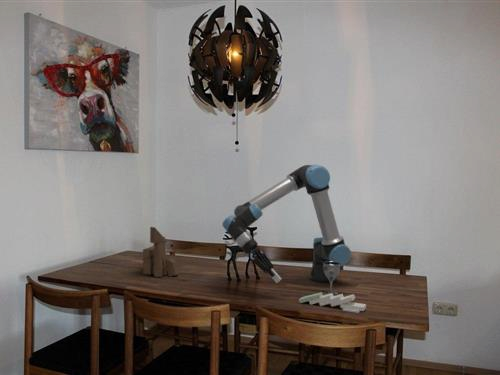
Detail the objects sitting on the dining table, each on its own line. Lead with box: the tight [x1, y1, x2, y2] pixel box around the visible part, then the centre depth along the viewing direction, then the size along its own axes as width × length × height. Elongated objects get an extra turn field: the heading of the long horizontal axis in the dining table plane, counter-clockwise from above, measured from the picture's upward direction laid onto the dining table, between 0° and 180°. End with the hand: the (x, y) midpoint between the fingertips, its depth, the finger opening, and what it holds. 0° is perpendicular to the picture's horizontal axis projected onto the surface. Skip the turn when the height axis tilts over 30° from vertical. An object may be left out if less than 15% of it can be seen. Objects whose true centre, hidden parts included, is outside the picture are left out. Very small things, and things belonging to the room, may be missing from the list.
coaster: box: [342, 308, 361, 314], centre depth 199 cm, size 8×7×1 cm
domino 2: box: [308, 293, 335, 305], centre depth 205 cm, size 2×5×10 cm
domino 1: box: [298, 291, 324, 304], centre depth 207 cm, size 2×5×10 cm
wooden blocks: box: [142, 226, 180, 278], centre depth 261 cm, size 24×20×28 cm
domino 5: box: [339, 301, 367, 312], centre depth 199 cm, size 2×5×10 cm
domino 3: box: [318, 293, 345, 307], centre depth 203 cm, size 2×5×10 cm
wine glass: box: [323, 261, 341, 296], centre depth 224 cm, size 8×8×15 cm
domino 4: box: [329, 293, 356, 307], centre depth 201 cm, size 2×5×10 cm
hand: (279, 281), depth 214 cm, fingers closed
